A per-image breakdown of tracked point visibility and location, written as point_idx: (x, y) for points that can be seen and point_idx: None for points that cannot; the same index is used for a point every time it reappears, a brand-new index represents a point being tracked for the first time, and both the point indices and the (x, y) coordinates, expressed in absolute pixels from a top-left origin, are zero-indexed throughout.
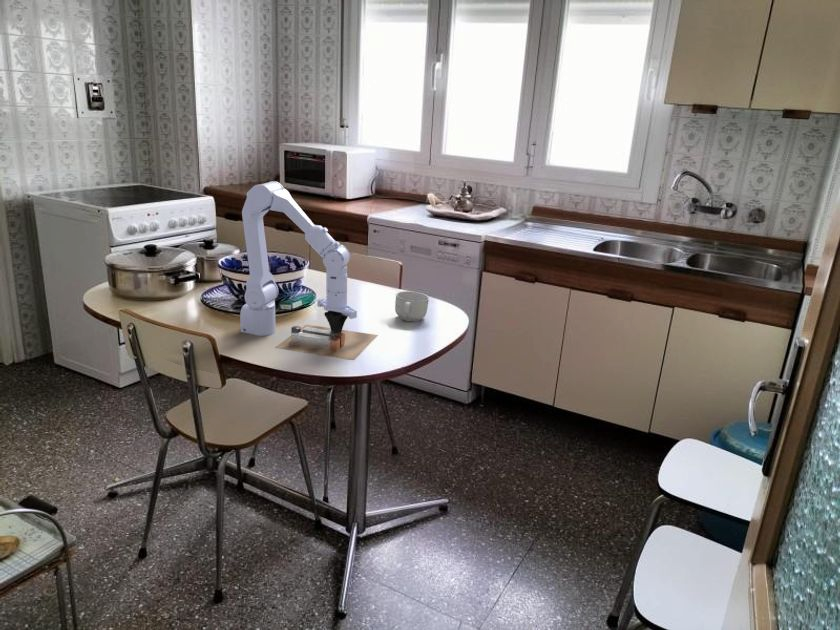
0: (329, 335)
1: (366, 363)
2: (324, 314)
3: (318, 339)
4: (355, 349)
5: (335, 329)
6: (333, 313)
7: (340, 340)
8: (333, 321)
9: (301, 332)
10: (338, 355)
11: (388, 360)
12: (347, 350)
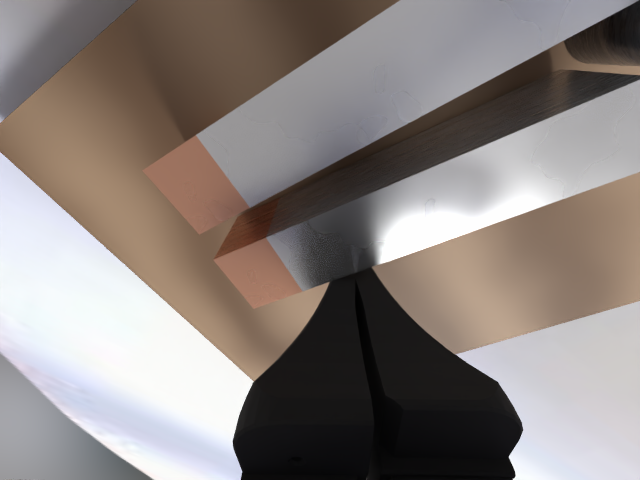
0: (313, 212)
1: (15, 197)
2: (495, 391)
3: (306, 63)
4: (164, 251)
5: (325, 296)
6: (363, 464)
7: (229, 235)
8: (319, 348)
9: (613, 10)
10: (101, 100)
11: (34, 293)
12: (170, 209)
